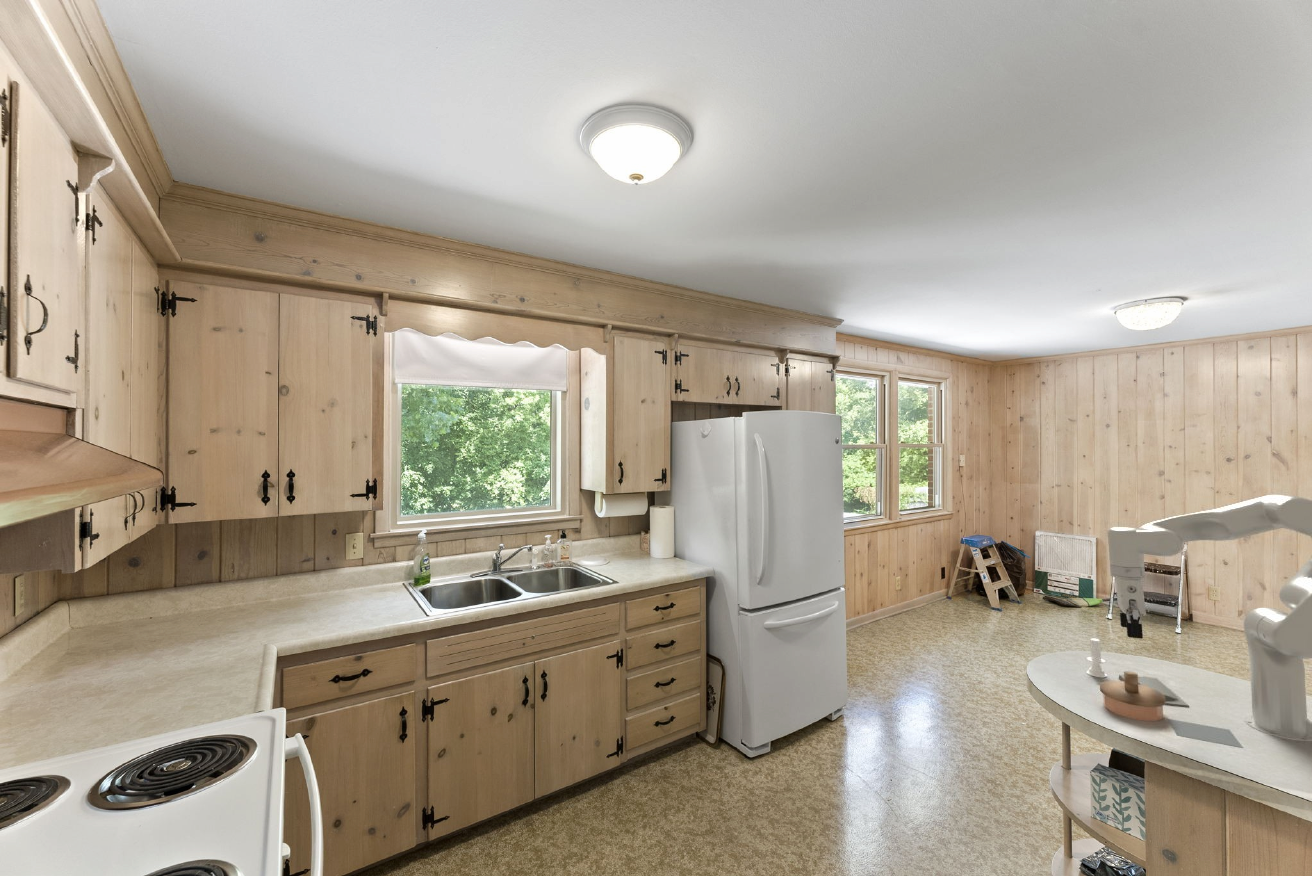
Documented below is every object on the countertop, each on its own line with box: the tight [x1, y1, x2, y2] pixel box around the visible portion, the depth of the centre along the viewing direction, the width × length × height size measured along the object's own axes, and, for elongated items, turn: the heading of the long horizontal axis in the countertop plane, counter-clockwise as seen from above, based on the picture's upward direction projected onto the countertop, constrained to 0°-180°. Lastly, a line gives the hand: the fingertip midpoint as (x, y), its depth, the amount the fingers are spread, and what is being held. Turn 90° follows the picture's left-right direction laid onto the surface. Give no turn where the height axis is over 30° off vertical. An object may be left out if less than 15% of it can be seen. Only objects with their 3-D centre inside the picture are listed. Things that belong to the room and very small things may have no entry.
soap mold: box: [1118, 674, 1190, 708], centre depth 166 cm, size 10×20×4 cm, turn 158°
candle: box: [1086, 637, 1108, 678], centre depth 181 cm, size 5×5×12 cm
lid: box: [1099, 670, 1166, 707], centre depth 155 cm, size 14×14×6 cm
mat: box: [1167, 718, 1244, 749], centre depth 142 cm, size 12×10×1 cm
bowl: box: [1102, 693, 1164, 722], centre depth 155 cm, size 12×12×5 cm
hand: (1131, 632), depth 156 cm, fingers open, 9 cm apart
